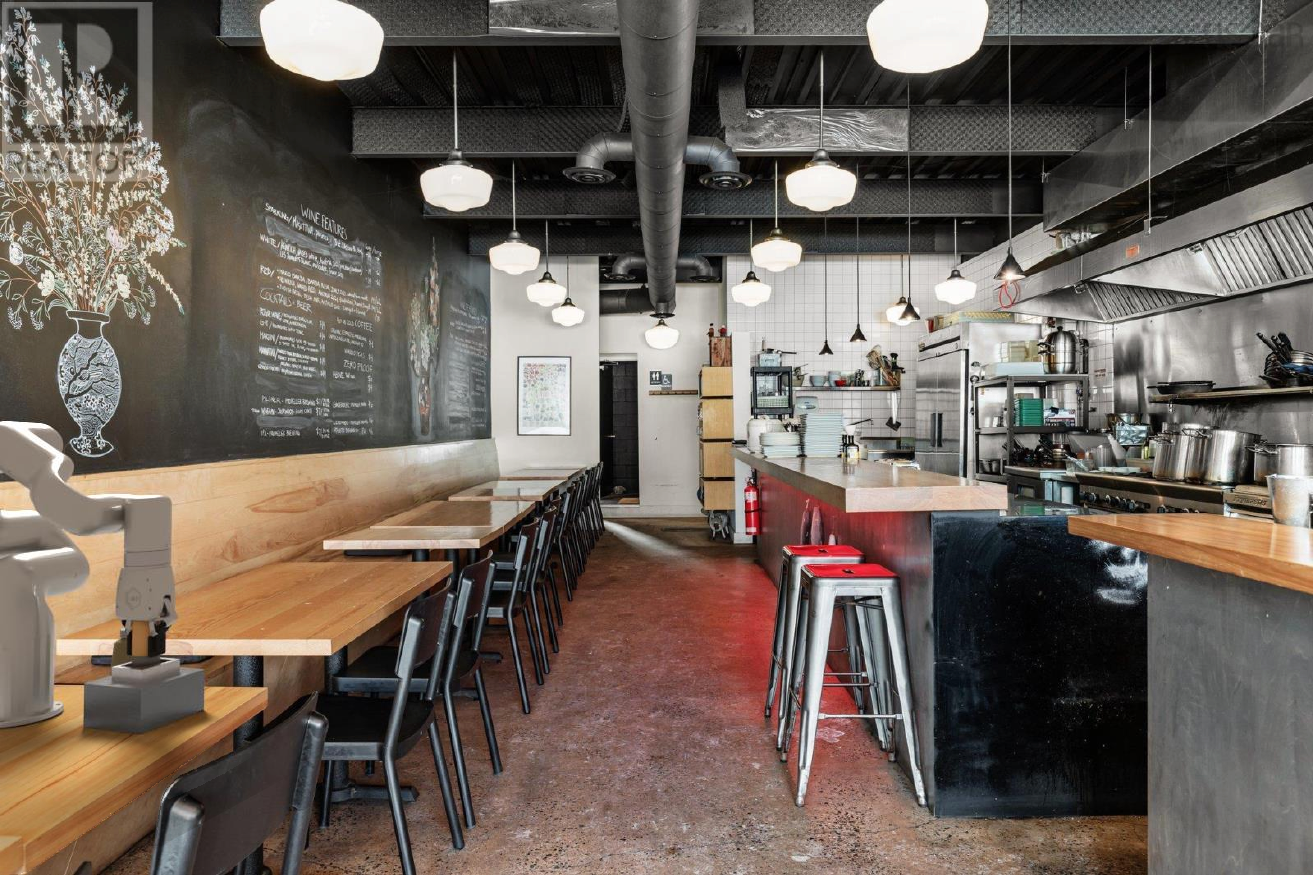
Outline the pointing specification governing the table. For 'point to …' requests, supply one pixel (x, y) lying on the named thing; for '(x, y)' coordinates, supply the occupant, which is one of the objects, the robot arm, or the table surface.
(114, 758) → the table surface
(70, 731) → the table surface
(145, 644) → the orange cylinder
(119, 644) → the squeeze bottle
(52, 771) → the table surface
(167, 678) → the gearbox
